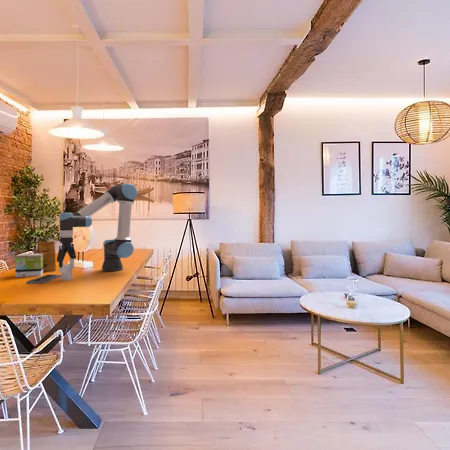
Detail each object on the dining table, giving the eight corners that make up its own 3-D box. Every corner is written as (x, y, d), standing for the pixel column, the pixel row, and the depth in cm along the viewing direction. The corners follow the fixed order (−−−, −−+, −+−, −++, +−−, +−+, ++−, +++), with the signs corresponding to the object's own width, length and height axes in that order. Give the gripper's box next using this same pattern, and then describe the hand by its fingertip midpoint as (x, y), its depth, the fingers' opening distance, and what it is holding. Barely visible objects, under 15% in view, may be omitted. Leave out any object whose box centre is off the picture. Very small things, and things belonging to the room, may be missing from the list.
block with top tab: (63, 279, 205) (63, 264, 204) (74, 279, 205) (74, 264, 204) (59, 281, 200) (59, 265, 200) (71, 281, 200) (70, 265, 200)
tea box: (15, 277, 210) (14, 255, 209) (18, 275, 219) (18, 253, 219) (41, 276, 215) (40, 254, 215) (43, 273, 225) (43, 252, 224)
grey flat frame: (47, 276, 214) (47, 274, 214) (62, 276, 214) (62, 274, 214) (26, 284, 192) (26, 281, 192) (42, 284, 192) (42, 281, 192)
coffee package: (35, 270, 236) (35, 241, 235) (54, 269, 243) (54, 240, 242) (37, 272, 228) (36, 242, 227) (56, 271, 235) (56, 241, 234)
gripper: (70, 235, 214) (70, 267, 215) (49, 238, 189) (50, 274, 190) (81, 235, 214) (81, 267, 215) (62, 238, 189) (62, 274, 190)
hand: (66, 270), depth 202 cm, fingers open, 12 cm apart
